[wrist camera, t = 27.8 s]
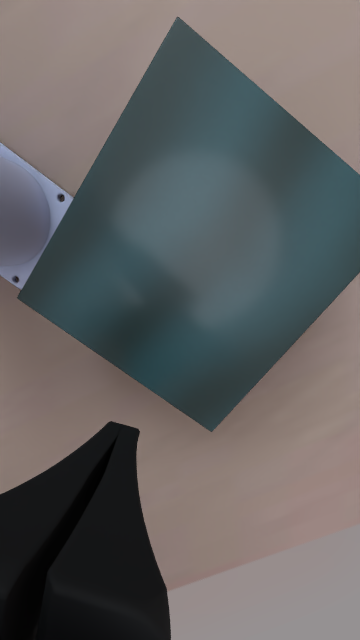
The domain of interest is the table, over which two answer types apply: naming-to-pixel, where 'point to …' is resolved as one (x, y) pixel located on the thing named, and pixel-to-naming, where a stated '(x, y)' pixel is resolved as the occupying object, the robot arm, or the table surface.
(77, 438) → the table surface
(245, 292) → the lid
